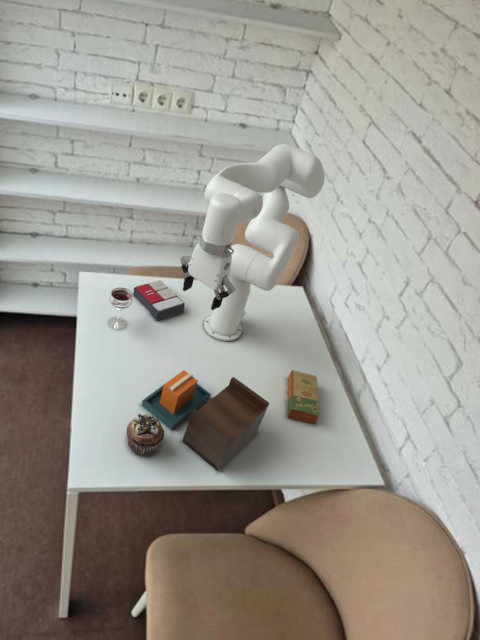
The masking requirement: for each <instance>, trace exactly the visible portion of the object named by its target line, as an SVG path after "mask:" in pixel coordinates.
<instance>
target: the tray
mask: <svg viewBox="0 0 480 640" xmlns="http://www.w3.org/2000/svg"><path fill="white" fill-rule="evenodd" d="M177 375H178V374H176V375H175V376H177ZM163 387H164V384H163V385H161V386H160V387H159V388H158V389H156V390H155V391H152V393H150V394H148V395H147V396H146V397H145V398H144V399H142V401H141V406H142V407H143V408H144V409H145V410H146V411H148V412H149V414H150V415H153V416H155V417H156V418H157V419H158V420H159V421H160V423H161V424H163V425H165V426H166V427H167V428H168V429H170V431H172V430H174V429H176V427H177V426H179V425H180V424H182V422H184V421H185V420H186V419H187V418H188V417H190V415H191V411H192V410H194V409H195V410H196V411H198V410H199V409H200V408H201V407H202V406H204V405H205V404H206V403H207V402H208V400H209V401H210V400H211V396H212V393H210V392H209V391H208V390H206V389H205V388H204V387H202V386H201V385H199V383H197V386H196V389H195V393H194V396H193V399H192V400H191V401H189V402H188V403H187V404H186V405H184V406H183V407H182V408H181V409H179V410H178V411H177V412H176V413H174V414H172V413H171V412H170V411H169V410H167V409H166V408H165V407H164V406H163V405H161V404H160V399H161V395H162V391H163Z"/></svg>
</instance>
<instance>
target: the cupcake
mask: <svg viewBox="0 0 480 640" xmlns="http://www.w3.org/2000/svg"><path fill="white" fill-rule="evenodd" d="M127 424H128V425H127V426H126V432H125V433H126V438H127V444H128V447H129V449H130V451H131V452H132V454H134V455H137V456H139V457H149V456H150V457H151V456H152V455H153V454H155V453H156V451H157V450H158V449H159V447H160V445H161V444H162V443H163V440H164V439H165V430H164V427H163V425H162V422H161V421H160V420H159V419H157V418H156V417H155V416H154V415H153V414H150V413H146V414H141V413H135V415H134V417H133V419H132V420H131V421H130V422H129V423H127Z"/></svg>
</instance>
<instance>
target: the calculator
mask: <svg viewBox="0 0 480 640" xmlns="http://www.w3.org/2000/svg"><path fill="white" fill-rule="evenodd" d="M132 294H133V296H134V298H135V299H137V301H138V302H140V303H141V305H142V306H143V307H144V308H145V309H146V310H147V311H148V312H149V313H150V316H151V317H153V319H154V320H155V321H161V320H164V319H168V318H171V317H173V316H177V315H179V314H183V313H184V311H185V306H186V302H184V301H183V300H181V298H180V297H179V296H178V295H176V294H175V292H173V291H172V290H171V289H170V288H169V287H168V286H167V285H166V284H165V283H164V282H163V281H162V280H160V279H158V280H154V281H152V282H149V283H143V284H141V285H137V286H135V287H133V292H132Z"/></svg>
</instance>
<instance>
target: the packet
mask: <svg viewBox="0 0 480 640" xmlns="http://www.w3.org/2000/svg"><path fill="white" fill-rule="evenodd" d="M176 375H177V376H176ZM176 375H175V376H174V377H172V378H171V379H170V380H168V381H167V382H166V383H164V384H163V385H164V387H163V391H162V395H161V399H160V404H161V405H163V406H164V407H165V408H166V409H167V410H169V411H170V412H171V413H172V414H174V413H176V412H177V411H178V410H179V409H181V408H182V407H183V406H184V405H186V404H187V403H188V402H189V401H191V400H192V399H193V396H194V393H195V389H196V386H197V384H199V383H198V382H199V380H198V379H196V377H194V376H193V375H194V374H193V373H192V372H187V371H186V370H184V369H183V370H182V371H181V372H179V373H178V374H176Z"/></svg>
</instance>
